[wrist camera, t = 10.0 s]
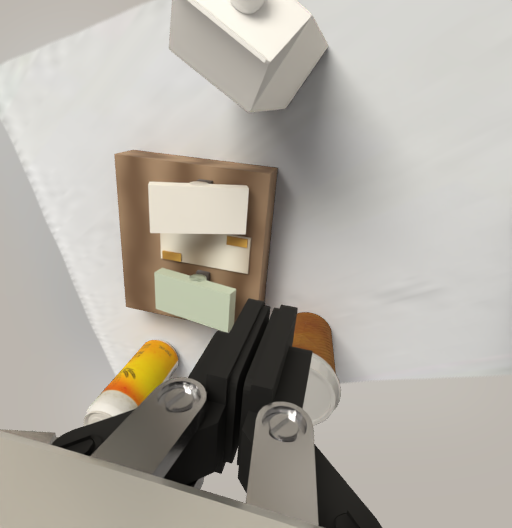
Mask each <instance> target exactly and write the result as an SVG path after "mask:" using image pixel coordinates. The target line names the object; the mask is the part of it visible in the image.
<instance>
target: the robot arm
mask: <svg viewBox="0 0 512 528" xmlns="http://www.w3.org/2000/svg"><path fill="white" fill-rule="evenodd" d="M269 314H270V307H269V306H265V302H264V301H260V300H255V299H250V298H249V299H248V300H247V302H246V304H245V305H244V307H243V309H242V311H241V313H240V314H239V316H238V318H237V320H236V322H235V323H234V325H233V327H232V329H231V330H230V332H229V333H227V332H223V331H217V332H216V333H215V335H214V336H213V338H212V339H211V341H210V343H209V344H208V346H207V348H206V349H205V351H204V352H203V354H202V356H201V357H200V359H199V361H198V362H197V364H196V365H195V367H194V369H193V370H192V372H191V373H190V375H189V377H188V378H186V377H178V378H173V379H169V380H167V381H164V382H162V383H161V384H160V385H158V386H157V387H156V388H155V389H154V390H153V391H152V392H151V393H150V394H149V395H148V396H147V397H146V399H145V400H144V401H143V402H142V403H141V404H140V405H139V406H138V407H137V408H136V409H133V410H131V411H128V412H125V413H122V414H119V415H116V416H113V417H110V418H107V419H104V420H101V421H98V422H95V423H92V424H89V425H86V426H83V427H80V428H78V429H74V430H72V431H70V432H67V433H65V434H63V435H62V436H60V437H56V435H55V433H52V432H35V431H18V430H0V528H382V527H381V525H380V524H379V522H378V521H377V519H376V518H375V516H374V515H373V514H372V513H371V512H370V510H369V509H368V508H367V507H366V506H365V505H364V503H363V502H362V501H361V500H360V498H359V497H358V496H357V495H356V494H355V492H354V491H353V490H352V489H351V488H350V487H349V485H348V484H347V483H346V481H345V480H344V479H343V478H342V477H341V476H340V474H339V473H338V472H337V471H336V469H335V468H334V467H333V466H332V465H331V464H330V462H329V461H328V460H327V459H326V457H325V456H324V455H323V454H322V453H321V451H320V450H319V449H318V448H317V447H316V446H315V444H314V430H313V423H312V420H311V418H310V416H309V415H308V413H307V412H305V411H304V410H303V404H304V398H305V393H306V387H307V382H308V376H309V370H310V365H311V359H312V353H313V351H311V350H306V349H302V348H297V347H292V344H293V337H294V331H295V324H296V317H297V308H296V307H291V306H286V305H281V307H280V309H279V308H274V310H273V312H272V315H271V317H270V319H269ZM237 448H238V457H237V465H239V471H238V479H239V480H240V483H241V484H242V486H243V488H244V490H245V491H246V493H247V496H246V503H243V502H240V501H236V500H233V499H230V498H226V497H223V496H219V495H217V494H213V493H210V492H207V491H203V490H200V489H201V487H202V484H203V481H204V476H206V475H209V474H211V473H213V472H217V473H222V471H223V468H224V466H225V463H226V462H229V463H232V462H233V460H234V457H235V454H236V451H237Z"/></svg>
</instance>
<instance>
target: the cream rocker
mask: <svg viewBox="0 0 512 528" xmlns="http://www.w3.org/2000/svg"><path fill="white" fill-rule="evenodd" d="M148 194H149V218H150V233H178V234H246V223H247V209H248V195H249V188H248V186H247V185H225V184H209V183H207V182H201V181H193V182H190V183H174V182H149V184H148Z"/></svg>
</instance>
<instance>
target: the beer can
mask: <svg viewBox="0 0 512 528" xmlns="http://www.w3.org/2000/svg"><path fill="white" fill-rule="evenodd" d="M177 366H178V356H177V353H176V351H175V349H174V348H173V346H171V345H170V344H169V343H167V342H165V341H162V340H151V341H148V342H146V343H145V344H144V345H143V346H142V347H141V349H140V350H139V351H138V352H137V353H136V354H135V355H134V356H133V358H132V359H131V360H130V361H129V362H128V363H127V364H126V366H125V367H124V368H123V369H122V370H121V371H120V372H119V373H118V375H117V376H116V377H115V378H114V379H113V380H112V381H111V383H110V384H109V385H108V386H107V387H106V388H105V389H104V391H103V392H102V393H101V394H100V395H99V396H98V397H97V399H96V400H95V401H94V402H93V403H92V404H91V405H90V406H89V408H88V410H87V413H86V416H85V418H84V426H86V425H89V424H92V423H95V422H98V421H101V420H104V419H107V418H110V417H113V416H116V415H119V414H122V413H125V412H128V411H131V410H133V409H136V408H137V407H138V406H139V405H140V404H141V403H142V402H143V401H144V400H145V399H146V397H147V396H148V395H149V394H150V393H151V392H152V391H153V390H154V389H155V388H156V387H157V386H158V385H160V384H161V383H162V382H164V381H167V380H169V378H170V377H171V375H172V374H173V373H174V371H175V370H176V368H177Z"/></svg>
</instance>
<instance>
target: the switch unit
mask: <svg viewBox="0 0 512 528" xmlns="http://www.w3.org/2000/svg"><path fill="white" fill-rule="evenodd" d="M114 155H115V168H116V181H117V194H118V207H119V220H120V233H121V246H122V259H123V272H124V286H125V299H126V307H129V308H134V309H139V310H143V311H148V312H153V313H157V314H162V315H167V316H172V317H176V318H181V319H185V318H182V317H179V316H176V315H173V314H170V313H167V312H164V311H161V310H158V309H156V302H155V276H154V272H156V271H157V270H159V269H161V268H165V269H169V270H172V271H176V272H179V273H183V274H186V275H190V276H191V275H194V274H202V275H204V276H206V280H207V281H210V282H214V283H217V284H221V285H224V286H228V287H231V288H235V289H236V301H235V317H234V323H235V322H236V320H237V318H238V316H239V314H240V313H241V311H242V309H243V307H244V305H245V304H246V302H247V300H248V299H249V298H250V299H255V300H260V301H264V299H265V289H266V279H267V269H268V259H269V250H270V240H271V230H272V220H273V210H274V200H275V190H276V180H277V170H278V168H274V167H266V166H258V165H250V164H242V163H234V162H226V161H218V160H210V159H202V158H194V157H186V156H178V155H170V154H162V153H154V152H146V151H138V150H131V151H126V152H122V153H117V154H114ZM193 181H201V182H207V183H209V184H225V185H247V186H248V188H249V195H248V209H247V223H246V234H178V233H150V218H149V194H148V184H149V182H174V183H190V182H193ZM186 320H188V319H186ZM190 321H191V320H190Z"/></svg>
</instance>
